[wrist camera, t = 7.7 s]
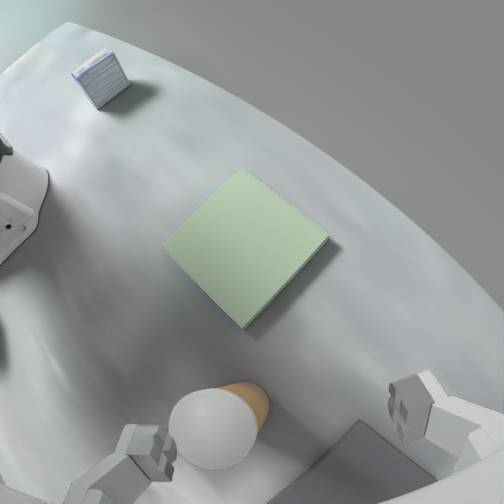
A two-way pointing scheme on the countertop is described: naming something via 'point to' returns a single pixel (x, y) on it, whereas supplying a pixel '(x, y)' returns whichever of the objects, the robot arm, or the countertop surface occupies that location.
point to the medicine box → (101, 78)
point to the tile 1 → (244, 246)
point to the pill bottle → (219, 424)
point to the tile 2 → (356, 473)
